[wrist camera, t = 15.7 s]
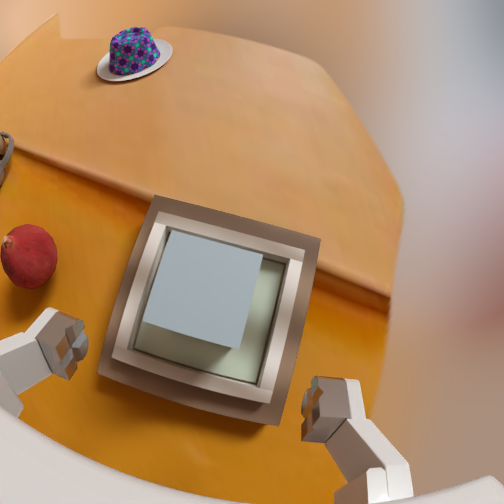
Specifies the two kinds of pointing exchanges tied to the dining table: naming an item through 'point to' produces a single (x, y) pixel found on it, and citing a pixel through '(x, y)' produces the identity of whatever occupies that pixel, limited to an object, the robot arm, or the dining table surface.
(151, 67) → the purple and white hat
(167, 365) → the tray
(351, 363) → the dining table surface
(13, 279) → the onion
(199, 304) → the light blue-grey block
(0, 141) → the alarm clock
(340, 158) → the dining table surface
